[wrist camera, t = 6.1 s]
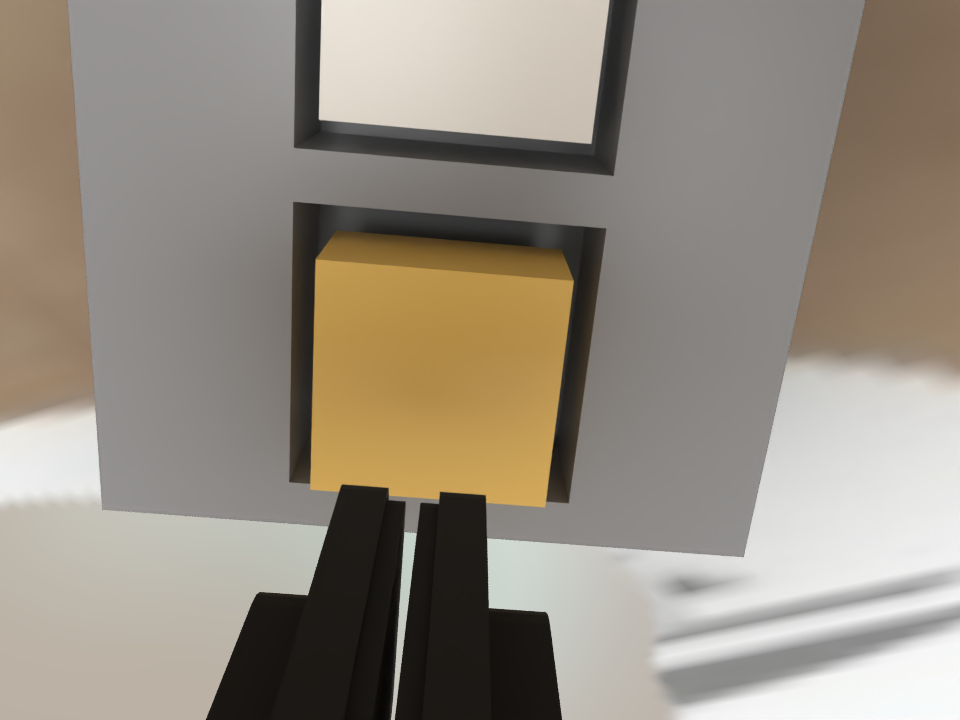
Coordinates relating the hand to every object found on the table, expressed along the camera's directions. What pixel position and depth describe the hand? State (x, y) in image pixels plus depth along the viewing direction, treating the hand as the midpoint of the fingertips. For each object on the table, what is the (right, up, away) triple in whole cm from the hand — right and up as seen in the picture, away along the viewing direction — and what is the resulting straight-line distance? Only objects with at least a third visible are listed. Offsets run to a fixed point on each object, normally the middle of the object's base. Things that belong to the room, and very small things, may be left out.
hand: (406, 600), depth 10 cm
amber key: (0, +3, +8) cm, 9 cm away
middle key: (+1, +10, +6) cm, 11 cm away
